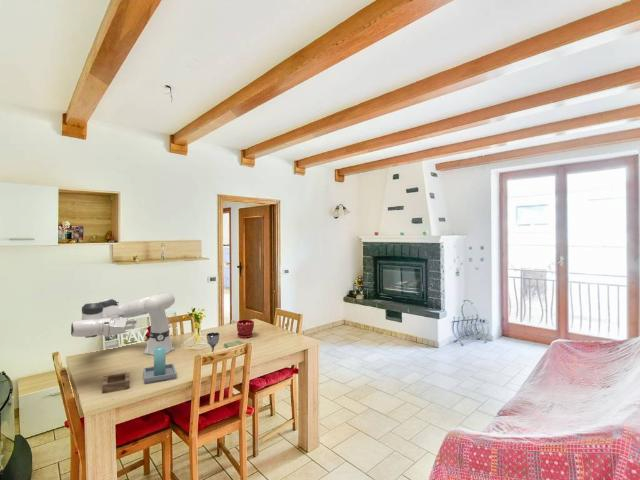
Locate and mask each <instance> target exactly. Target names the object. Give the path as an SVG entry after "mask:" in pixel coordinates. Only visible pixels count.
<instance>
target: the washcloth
mask: <svg viewBox="0 0 640 480" xmlns="http://www.w3.org/2000/svg"><path fill="white" fill-rule="evenodd" d="M244 343H245V342H243V341H241V340H234V341H228V342H224V344H223V347H224V348H225V349H227V348H228V347H233V346H237V345H241V344H244Z"/></svg>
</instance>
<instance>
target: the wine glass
mask: <svg viewBox="0 0 640 480" xmlns="http://www.w3.org/2000/svg"><path fill="white" fill-rule="evenodd" d="M219 340H220V333H219V332H215V331H214V332H209V333H207V334H206V341H207V342H206V343H207V344H208V345H209V346H210V347H211V353H212V352H213V353H214V349H215V347H216V346H217V345H218V343H219Z"/></svg>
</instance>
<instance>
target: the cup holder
mask: <svg viewBox="0 0 640 480" xmlns="http://www.w3.org/2000/svg"><path fill="white" fill-rule="evenodd" d="M130 378H131V377H130V372H124V373H123V372H122V373H116V374H112V375H111V374H110V375H105V376H103V380H102V385H101V393H102V394H106V393H107V394H108V393H111V392H117V391H123V390H129V389H130V387H131V386H130V383H131V382H130Z"/></svg>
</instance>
